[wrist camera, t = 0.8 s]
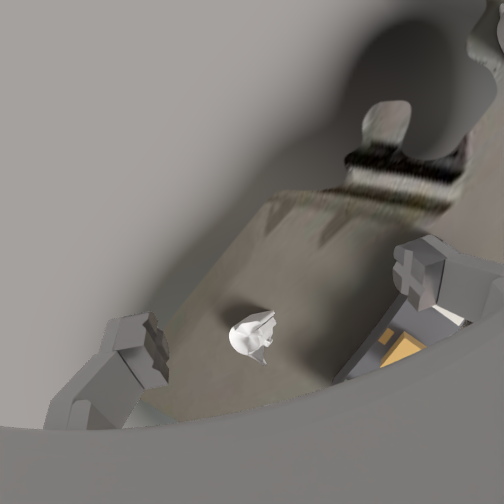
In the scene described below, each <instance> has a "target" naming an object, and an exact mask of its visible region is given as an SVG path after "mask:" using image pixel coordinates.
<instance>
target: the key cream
mask: <svg viewBox="0 0 504 504" xmlns="http://www.w3.org/2000/svg"><path fill="white" fill-rule="evenodd" d="M432 307H433V308H435V309H436V310H437V311H439V312H440V313H442V314H443V315H444V316H446V317H447V318H448V319H450V320H451V321H452V322H454V323H455V324H457V325H458V326H459V325H460V324H461V323H462V321H463V320H464V318H462V317H460V316H458V315H456V314H454V313H451V312H449V311H447V310H445V309H443V308H441V307H439V306H437V305H434V306H432Z"/></svg>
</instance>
